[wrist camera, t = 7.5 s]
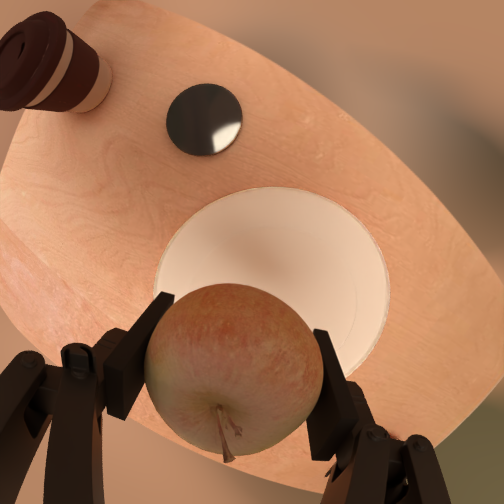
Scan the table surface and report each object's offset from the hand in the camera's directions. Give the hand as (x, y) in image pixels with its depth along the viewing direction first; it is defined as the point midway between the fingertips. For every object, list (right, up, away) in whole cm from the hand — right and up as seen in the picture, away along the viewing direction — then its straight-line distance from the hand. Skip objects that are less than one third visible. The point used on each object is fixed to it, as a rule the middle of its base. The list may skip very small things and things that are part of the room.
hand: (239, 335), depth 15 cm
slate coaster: (-4, +18, +13) cm, 23 cm away
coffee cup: (-19, +25, +12) cm, 34 cm away
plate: (+3, -2, +18) cm, 19 cm away
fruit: (0, 0, 0) cm, 1 cm away
